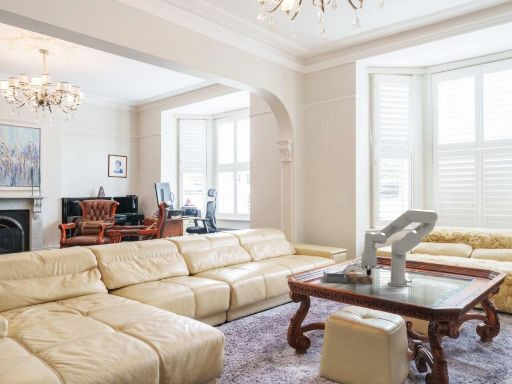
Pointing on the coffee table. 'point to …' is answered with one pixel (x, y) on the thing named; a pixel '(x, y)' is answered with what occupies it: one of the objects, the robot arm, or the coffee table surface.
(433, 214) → the robot arm
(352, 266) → the mask
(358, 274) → the tile
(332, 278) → the box
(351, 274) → the tile
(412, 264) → the coffee table surface
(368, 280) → the plate
